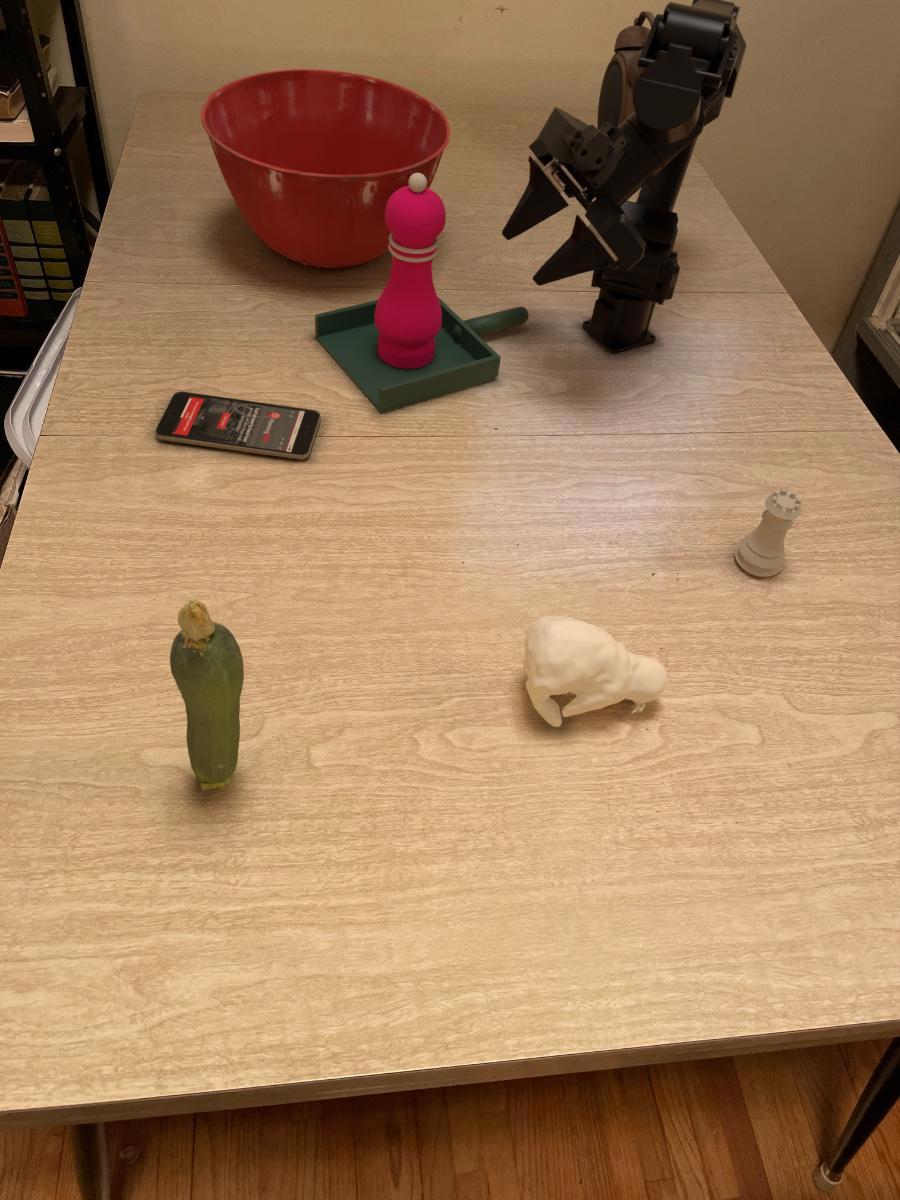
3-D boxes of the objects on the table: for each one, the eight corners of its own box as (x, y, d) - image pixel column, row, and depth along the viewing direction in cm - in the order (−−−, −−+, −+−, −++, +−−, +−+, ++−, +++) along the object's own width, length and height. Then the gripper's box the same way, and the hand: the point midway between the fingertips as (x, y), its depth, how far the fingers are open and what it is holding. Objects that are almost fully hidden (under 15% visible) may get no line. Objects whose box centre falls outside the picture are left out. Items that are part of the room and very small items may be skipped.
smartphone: (175, 390, 97) (321, 410, 97) (176, 396, 98) (321, 416, 98) (152, 434, 92) (307, 456, 92) (153, 440, 93) (307, 462, 93)
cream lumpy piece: (530, 594, 72) (680, 606, 74) (504, 664, 78) (643, 673, 81) (541, 661, 68) (699, 671, 70) (513, 729, 74) (659, 736, 76)
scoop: (381, 413, 99) (382, 390, 97) (314, 337, 108) (314, 314, 105) (562, 360, 109) (567, 338, 107) (489, 294, 117) (492, 272, 115)
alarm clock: (583, 140, 151) (611, -5, 136) (628, 142, 152) (660, -1, 137) (603, 182, 141) (635, 32, 126) (650, 184, 142) (688, 36, 127)
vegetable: (195, 750, 71) (161, 560, 56) (255, 749, 71) (237, 560, 56) (189, 803, 68) (152, 617, 53) (252, 802, 68) (232, 617, 53)
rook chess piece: (781, 584, 88) (814, 520, 82) (733, 574, 88) (762, 510, 83) (780, 551, 91) (811, 487, 85) (733, 541, 91) (761, 477, 86)
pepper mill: (359, 353, 106) (364, 172, 91) (399, 327, 110) (411, 150, 95) (412, 380, 103) (426, 198, 88) (450, 352, 107) (470, 174, 93)
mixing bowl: (483, 270, 121) (499, 145, 109) (279, 325, 108) (273, 191, 97) (367, 176, 135) (370, 57, 124) (175, 214, 123) (159, 86, 112)
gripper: (564, 44, 92) (444, 163, 97) (646, 123, 81) (505, 255, 86) (619, 127, 100) (505, 233, 105) (702, 210, 88) (569, 326, 94)
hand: (519, 258), depth 97 cm, fingers open, 9 cm apart
